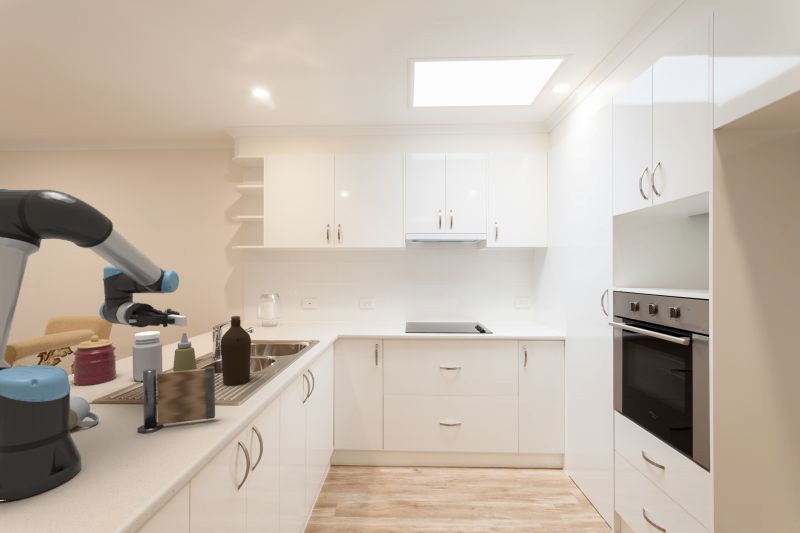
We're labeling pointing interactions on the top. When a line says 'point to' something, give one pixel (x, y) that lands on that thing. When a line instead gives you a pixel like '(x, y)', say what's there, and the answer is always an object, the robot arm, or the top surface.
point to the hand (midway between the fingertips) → (184, 321)
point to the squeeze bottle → (184, 356)
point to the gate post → (149, 403)
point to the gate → (186, 395)
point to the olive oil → (236, 354)
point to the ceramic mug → (81, 413)
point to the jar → (146, 354)
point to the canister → (94, 361)
